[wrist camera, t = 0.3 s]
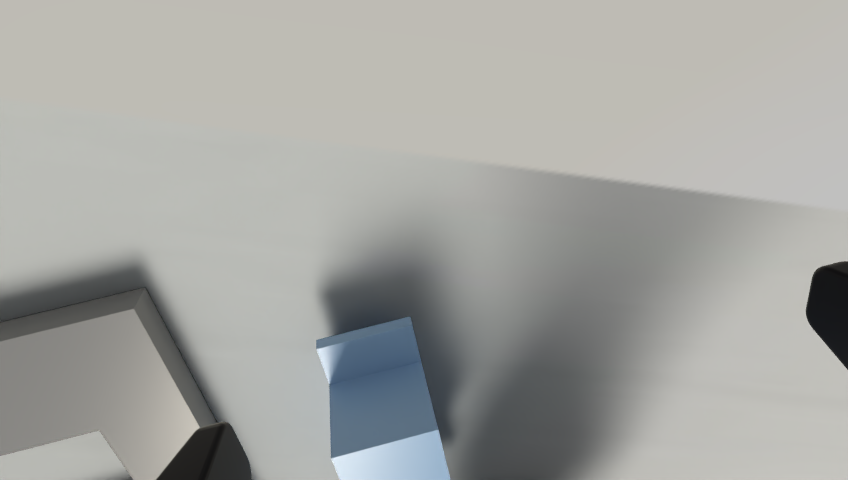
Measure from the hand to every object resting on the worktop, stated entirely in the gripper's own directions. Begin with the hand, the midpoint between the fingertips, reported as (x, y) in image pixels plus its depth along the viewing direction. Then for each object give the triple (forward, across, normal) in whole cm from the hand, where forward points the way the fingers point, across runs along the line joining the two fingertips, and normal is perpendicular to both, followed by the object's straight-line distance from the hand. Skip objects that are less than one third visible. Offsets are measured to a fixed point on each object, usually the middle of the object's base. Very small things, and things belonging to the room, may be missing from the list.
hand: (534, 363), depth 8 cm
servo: (+14, +4, +13) cm, 20 cm away
